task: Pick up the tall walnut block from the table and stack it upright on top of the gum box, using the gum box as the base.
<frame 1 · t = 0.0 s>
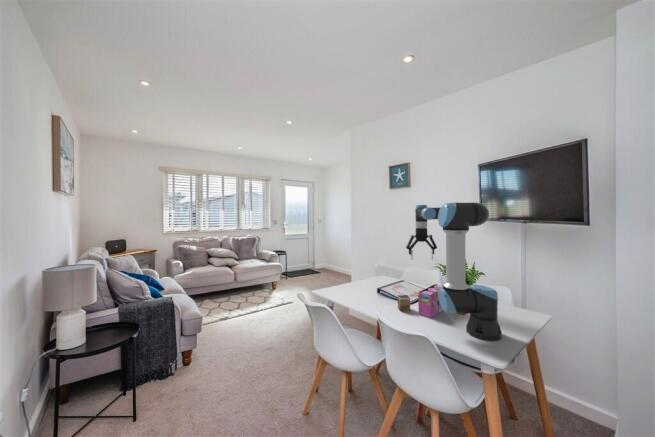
hand: (421, 259, 180), 28 cm above the table, fingers open, 13 cm apart
walnut block: (403, 309, 165), on the table
gum box: (433, 311, 162), on the table
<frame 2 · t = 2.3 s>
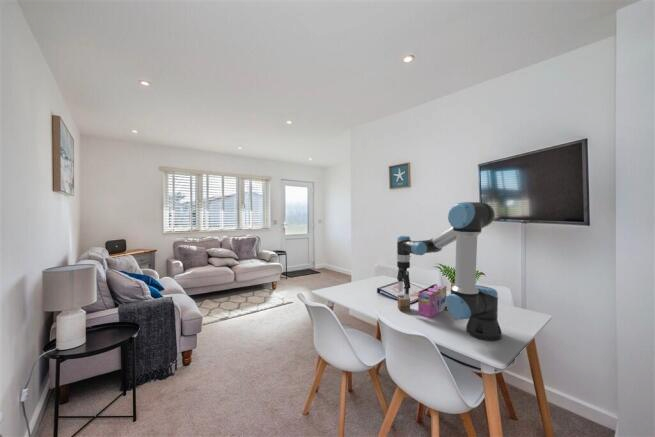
hand: (403, 295, 165), 9 cm above the table, fingers open, 13 cm apart
nothing on the table moved.
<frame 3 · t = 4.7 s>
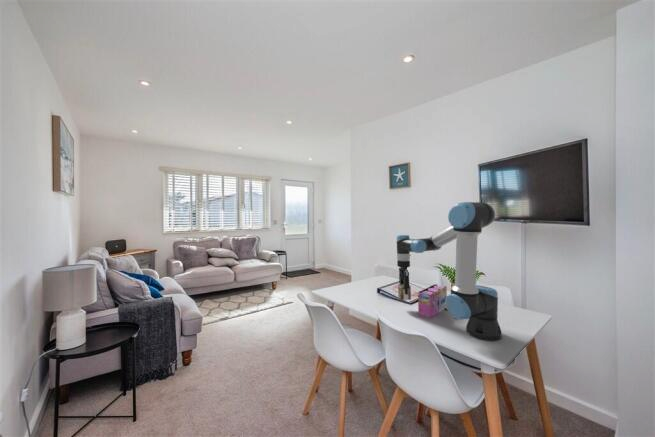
hand: (404, 297, 164), 8 cm above the table, fingers closed on walnut block, 6 cm apart
walnut block: (404, 298, 164), point 7 cm above the table, touching gripper
everything else where it was.
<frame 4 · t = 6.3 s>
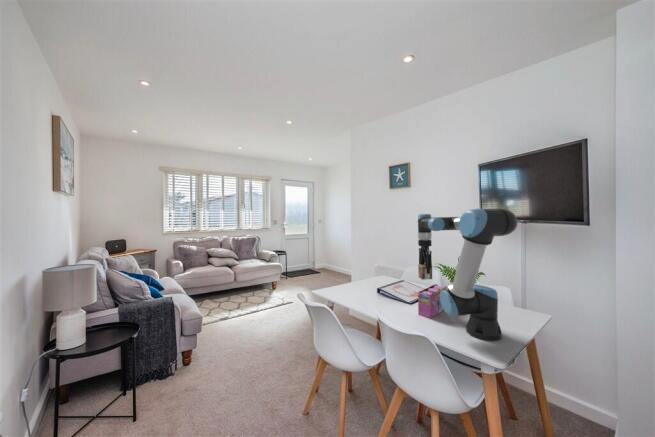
hand: (425, 277, 162), 20 cm above the table, fingers closed on walnut block, 6 cm apart
walnut block: (425, 278, 162), point 20 cm above the table, touching gripper
everything else where it was.
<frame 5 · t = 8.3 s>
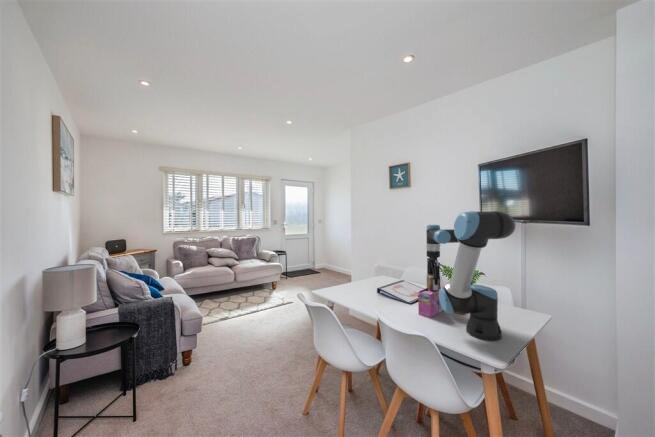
hand: (433, 288, 162), 14 cm above the table, fingers closed on walnut block, 6 cm apart
walnut block: (433, 288, 162), point 14 cm above the table, touching gripper, gum box
gum box: (433, 311, 162), on the table, touching gripper, walnut block
when the fingers open (14 cm above the table, at t = 8.5 s): walnut block stays where it is, resting on gum box.
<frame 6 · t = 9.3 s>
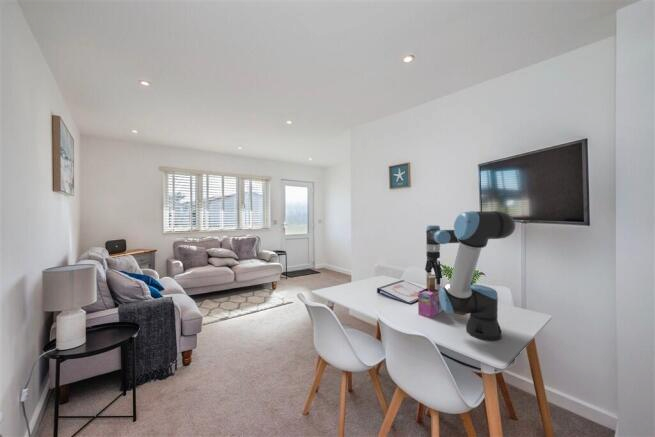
hand: (433, 286, 162), 15 cm above the table, fingers open, 13 cm apart
walnut block: (433, 288, 162), point 13 cm above the table, touching gum box
gum box: (433, 311, 162), on the table, touching walnut block
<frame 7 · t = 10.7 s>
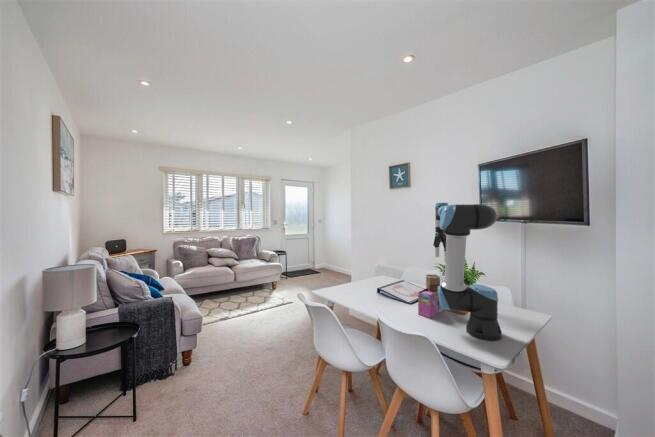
hand: (441, 259, 174), 29 cm above the table, fingers open, 13 cm apart
nothing on the table moved.
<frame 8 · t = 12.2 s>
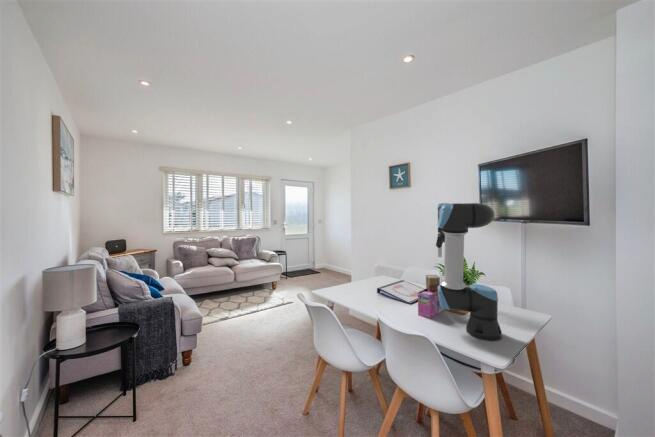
hand: (443, 259, 176), 29 cm above the table, fingers open, 13 cm apart
nothing on the table moved.
at the end: walnut block inside the target area in the gum box (0.6 cm from its centre), point 13.8 cm above the gum box's base; walnut block tilted 0°; the gripper is holding nothing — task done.
